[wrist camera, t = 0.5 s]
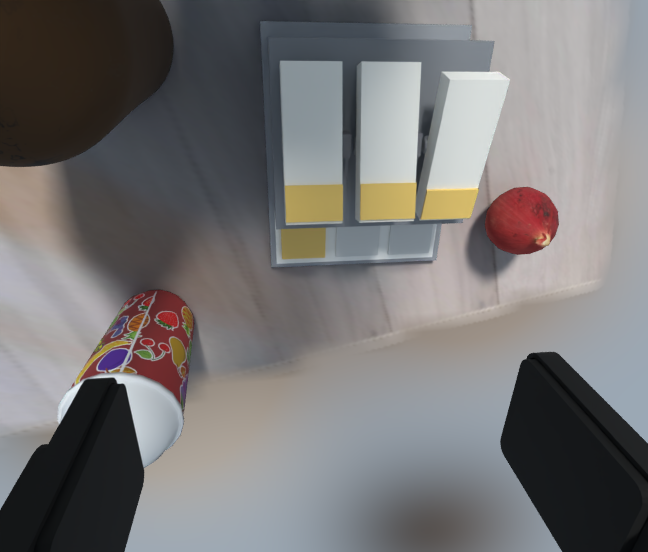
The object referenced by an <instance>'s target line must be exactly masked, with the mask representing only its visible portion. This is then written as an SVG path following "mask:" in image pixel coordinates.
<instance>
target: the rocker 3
mask: <svg viewBox="0 0 648 552" xmlns="http://www.w3.org/2000/svg"><path fill="white" fill-rule="evenodd" d="M509 82H510V79H508V78H507V77H505V76H504V75H503V74H501V73H500V72H441V77H440V82H439V87H438V92H437V97H436V102H435V107H434V112H433V117H432V122H431V127H430V132H429V136H424V138H423V140H422V152H423V153H424V154H425V157H424V162H423V167H422V172H421V177H420V182H419V186H418V191H417V196H416V206H415V212H416V214H417V216H418V218H419V220H449V219H469V218H470V217H471V214H472V211H473V207H474V204H475V201H476V197H477V194H478V191H479V189H478V186H479V182H480V179H481V176H482V172H483V169H484V166H485V162H486V159H487V156H488V152H489V149H490V146H491V142H492V139H493V136H494V132H495V129H496V126H497V122H498V119H499V116H500V112H501V109H502V106H503V102H504V99H505V96H506V92H507V89H508V86H509Z"/></svg>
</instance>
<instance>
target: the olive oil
mask: <svg viewBox="0 0 648 552" xmlns="http://www.w3.org/2000/svg"><path fill="white" fill-rule="evenodd" d="M172 58H173V36H172V30H171V26H170V23H169V20H168V17H167V14H166V12H165V10H164V8H163V6H162V4H161V2H160V0H0V166H9V167H31V166H42V165H48V164H53V163H57V162H61V161H64V160H67V159H70V158H72V157H74V156H77V155H79V154H81V153H83V152H85V151H86V150H88V149H89V148H91V147H93V146H94V145H95V144H97V143H98V142H99V141H100V140H102V139H103V138H104V137H105V136H106V135H107V134H108V133H109V132H110V131H111V130H112V129H113V128H114V127H115V126H116V125H117V124H118V123H120V122H121V121H122V120H123V119H124V118H125V117H126V116H127V115H128V114H129V113H130V112H131V111H133V110H134V109H135V108H136V107H137V106H138V105H139V104H141V103H142V102H143V101H145V100H146V99H147V98H148V97H150V96H151V95H152V94H153V93H155V92H156V91H157V90H158V89H159V87H160V86H161V85H162V83H163V82H164V80H165V79H166V77H167V75H168V73H169V70H170V67H171V63H172Z"/></svg>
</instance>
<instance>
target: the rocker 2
mask: <svg viewBox="0 0 648 552" xmlns="http://www.w3.org/2000/svg"><path fill="white" fill-rule="evenodd" d="M420 81H421V62H367V61H362V62H360V63H359V64H358V65H357V82H356V137H354V141H353V152H354V155H356V191H355V219H356V220H357V221H358V222H360V223H365V222H395V221H414V218H415V206H416V186H417V183H416V165H417V144H418V123H419V102H420Z"/></svg>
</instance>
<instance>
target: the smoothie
mask: <svg viewBox="0 0 648 552" xmlns="http://www.w3.org/2000/svg"><path fill="white" fill-rule="evenodd" d="M193 330H194V319H193V314H192V313H191V311H190V309H189V308H188V306H187V305H186V304H185V302H184V301H183V300H182V299H181V298H180V297H178V296H177V295H175V294H173V293H171V292H168V291H163V290H149V291H146V292H143V293H140V294H138V295H135V296H133V297H131V298H130V299H129V300H128V301H127V302H125V303H124V305H123V307H122V308H121V310H120V311H119V313H118V315H117V316H116V318H115V319H114V321H113V322H112V324H111V325H110V327H109V329H108V330H107V332H106V333H105V335H104V336H103V338H102V339H101V341H100V343H99V344H98V346H97V347H96V349H95V350H94V352H93V354H92V355H91V357H90V358H89V360H88V361H87V363H86V364H85V366H84V368H83V369H82V371H81V372H80V374H79V375H78V377H77V378H76V380H75V382H74V383H73V385H72V387H71V388H70V389H69V390H68V391H67V392H66V394H65V396H64V397H63V399H62V400H61V402H60V404H59V407H58V417H57V420H58V422H59V424H60V422H61V421H62V419H63V417H64V415H65V413H66V412H67V410H68V408H69V406H70V404H71V403H72V401H73V399H74V397H75V395H76V394H77V392H78V390H79V388H80V386H81V385H82V383H83V382H84V380H86V379H93V378H110V377H113V378H115V379H116V380H117V383H118V384H122V383H123V384H124V385H125V386H126V390H127V394H128V399H129V404H130V408H131V413H132V417H133V422H134V426H135V431H136V435H137V440H138V444H139V449H140V454H141V458H142V463H143V467H144V468H145V467H147V466H148V465H150V464H151V463H153V462H154V461H156V460H157V459H158V458H159V457H160V456H161V455H162V454H163V452H164V451H165V450H167V449H168V448H170V447H171V446H172V445H173V444H174V443H175V441H176V440H177V439H178V438H179V436H180V435H181V432H182V428H183V424H184V417H183V413H184V407H185V399H186V390H187V382H188V373H189V365H190V356H191V347H192V339H193Z"/></svg>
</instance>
